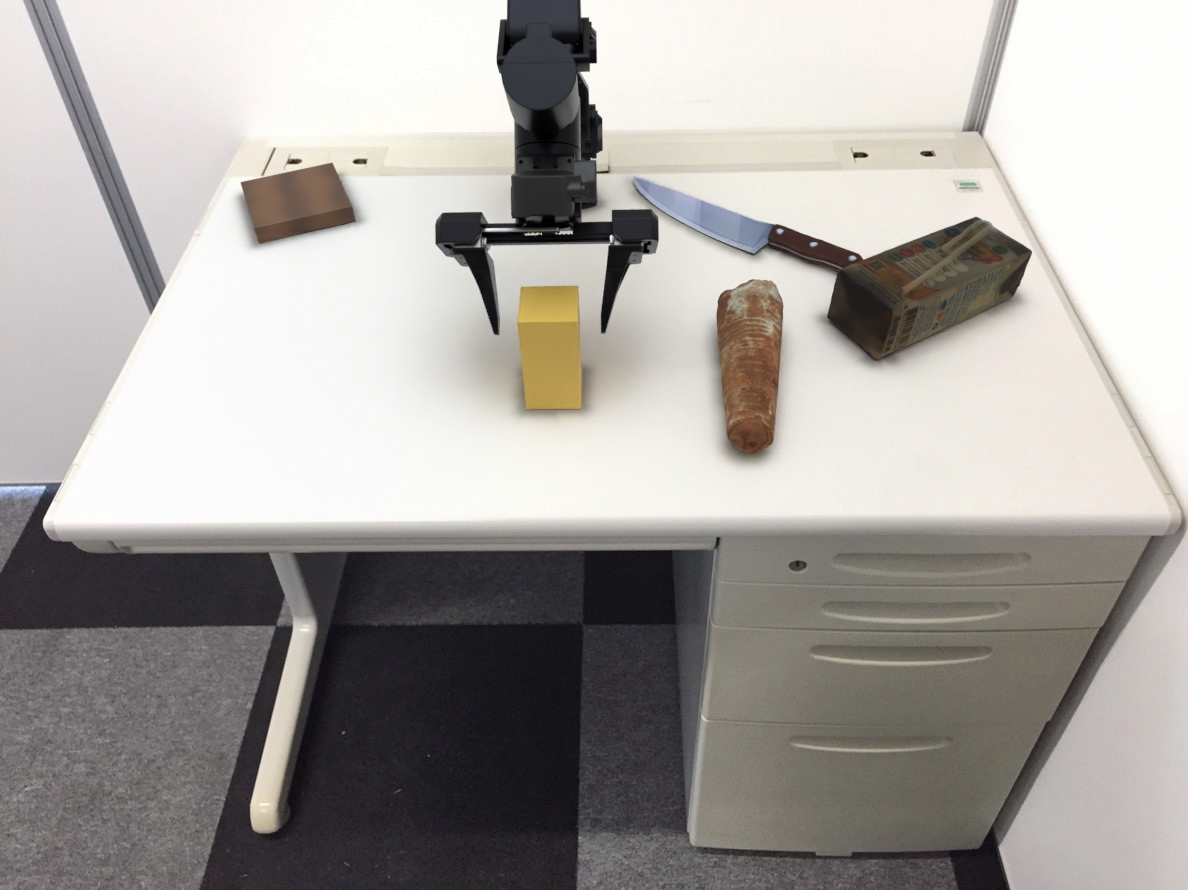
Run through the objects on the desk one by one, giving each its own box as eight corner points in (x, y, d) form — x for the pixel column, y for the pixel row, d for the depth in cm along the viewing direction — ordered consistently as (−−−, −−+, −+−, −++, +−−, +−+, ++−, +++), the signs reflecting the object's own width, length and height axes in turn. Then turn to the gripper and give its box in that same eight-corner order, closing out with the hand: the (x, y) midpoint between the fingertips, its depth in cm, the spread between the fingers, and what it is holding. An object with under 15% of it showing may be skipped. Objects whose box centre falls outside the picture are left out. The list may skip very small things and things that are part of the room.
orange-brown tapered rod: (779, 324, 91) (787, 277, 87) (777, 463, 78) (786, 416, 74) (715, 319, 92) (720, 273, 88) (702, 456, 78) (707, 409, 74)
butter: (529, 373, 87) (520, 286, 79) (581, 372, 86) (578, 285, 79) (526, 409, 83) (517, 322, 76) (581, 409, 83) (577, 321, 76)
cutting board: (336, 177, 113) (332, 162, 111) (355, 221, 106) (352, 206, 104) (245, 196, 110) (240, 181, 109) (258, 243, 103) (253, 228, 101)
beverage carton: (1019, 300, 93) (1040, 244, 88) (876, 366, 86) (891, 310, 81) (960, 261, 98) (977, 207, 93) (820, 321, 91) (831, 266, 86)
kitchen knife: (844, 288, 94) (848, 272, 93) (610, 200, 109) (610, 185, 107) (866, 269, 97) (869, 254, 95) (634, 185, 111) (634, 171, 110)
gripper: (420, 122, 71) (423, 324, 71) (661, 118, 71) (663, 320, 71) (446, 165, 82) (448, 339, 82) (654, 161, 82) (656, 336, 82)
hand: (549, 334), depth 79 cm, fingers open, 9 cm apart
